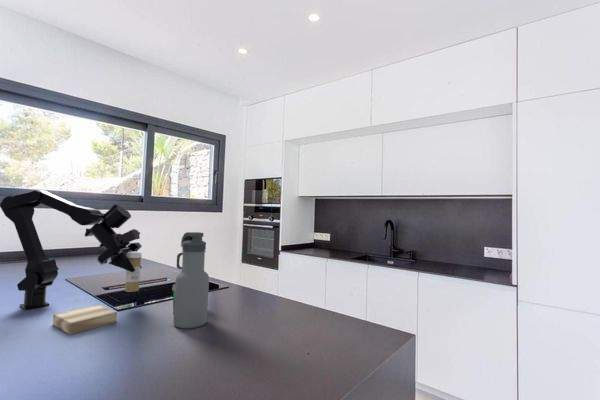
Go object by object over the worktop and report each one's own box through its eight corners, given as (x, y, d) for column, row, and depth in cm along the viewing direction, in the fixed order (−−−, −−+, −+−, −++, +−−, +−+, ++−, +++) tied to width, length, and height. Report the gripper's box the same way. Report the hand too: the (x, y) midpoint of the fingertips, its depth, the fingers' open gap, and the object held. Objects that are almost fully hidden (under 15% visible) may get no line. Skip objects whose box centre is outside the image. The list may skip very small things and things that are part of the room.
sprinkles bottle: (139, 288, 111) (142, 251, 112) (138, 291, 107) (141, 252, 108) (124, 289, 109) (127, 251, 110) (123, 292, 105) (126, 252, 106)
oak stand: (52, 324, 91) (53, 314, 91) (97, 314, 101) (98, 304, 101) (70, 334, 84) (71, 323, 84) (116, 322, 94) (116, 312, 94)
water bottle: (167, 322, 95) (171, 231, 96) (196, 315, 102) (200, 231, 103) (182, 332, 88) (187, 233, 89) (213, 324, 95) (217, 233, 96)
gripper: (109, 222, 100) (142, 258, 100) (138, 221, 118) (165, 251, 118) (83, 246, 99) (115, 282, 99) (115, 240, 118) (143, 271, 118)
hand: (137, 270), depth 108 cm, fingers closed on sprinkles bottle, 4 cm apart
